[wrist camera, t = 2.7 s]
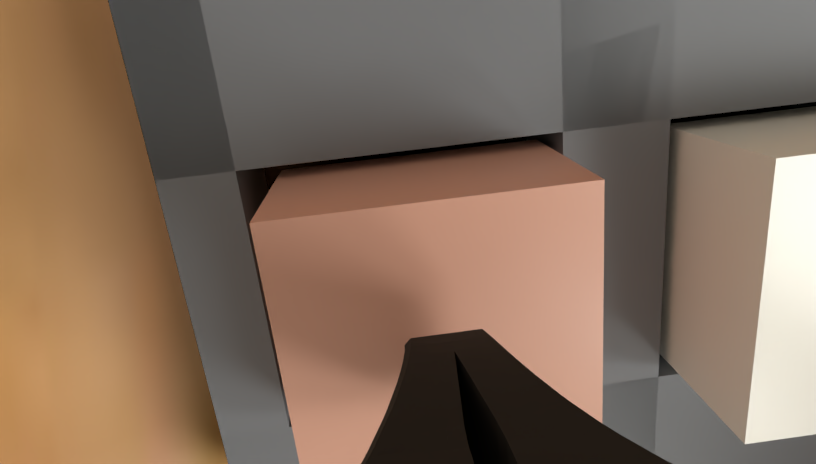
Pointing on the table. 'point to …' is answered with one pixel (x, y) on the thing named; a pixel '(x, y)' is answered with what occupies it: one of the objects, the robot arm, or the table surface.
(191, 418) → the table surface
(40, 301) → the table surface
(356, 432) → the terracotta key
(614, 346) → the key console
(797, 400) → the cream key
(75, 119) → the table surface
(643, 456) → the robot arm
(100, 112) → the table surface
